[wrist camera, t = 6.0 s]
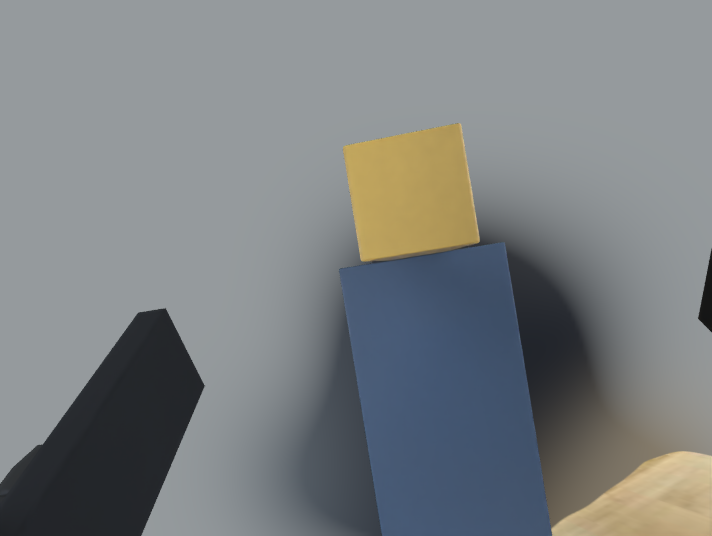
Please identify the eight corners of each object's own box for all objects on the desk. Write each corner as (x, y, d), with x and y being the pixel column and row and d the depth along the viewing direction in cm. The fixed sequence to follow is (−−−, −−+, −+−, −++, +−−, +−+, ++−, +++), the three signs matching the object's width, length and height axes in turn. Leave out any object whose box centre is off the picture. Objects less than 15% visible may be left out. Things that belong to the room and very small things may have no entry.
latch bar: (480, 242, 12) (460, 121, 12) (361, 262, 12) (342, 145, 12) (438, 254, 37) (432, 216, 37) (401, 260, 38) (395, 223, 38)
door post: (607, 876, 22) (499, 210, 22) (436, 873, 23) (333, 238, 23) (541, 660, 34) (471, 227, 34) (430, 665, 35) (362, 245, 35)
